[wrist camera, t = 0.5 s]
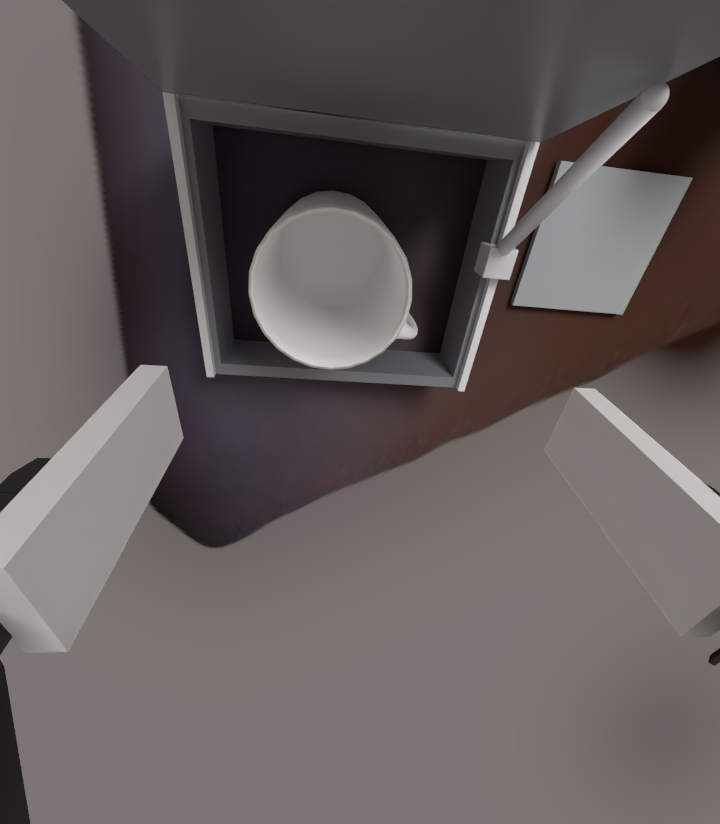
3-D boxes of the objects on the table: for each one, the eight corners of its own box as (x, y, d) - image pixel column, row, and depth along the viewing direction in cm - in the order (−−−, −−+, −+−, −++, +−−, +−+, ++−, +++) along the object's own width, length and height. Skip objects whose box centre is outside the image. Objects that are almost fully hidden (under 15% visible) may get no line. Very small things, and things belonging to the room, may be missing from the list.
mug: (288, 169, 27) (264, 174, 18) (433, 225, 30) (481, 255, 20) (265, 291, 32) (236, 347, 23) (391, 329, 35) (413, 394, 25)
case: (190, 75, 24) (22, -25, 11) (516, 121, 26) (694, 83, 13) (223, 348, 35) (158, 459, 22) (451, 363, 37) (515, 471, 24)
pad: (557, 160, 28) (561, 160, 27) (686, 177, 29) (692, 177, 29) (510, 303, 34) (512, 305, 34) (618, 312, 35) (622, 314, 35)
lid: (161, 91, 20) (158, 57, 19) (541, 142, 22) (548, 113, 22) (-772, -761, 3) (-1020, -1228, 2) (1209, -179, 5) (1319, -346, 5)
